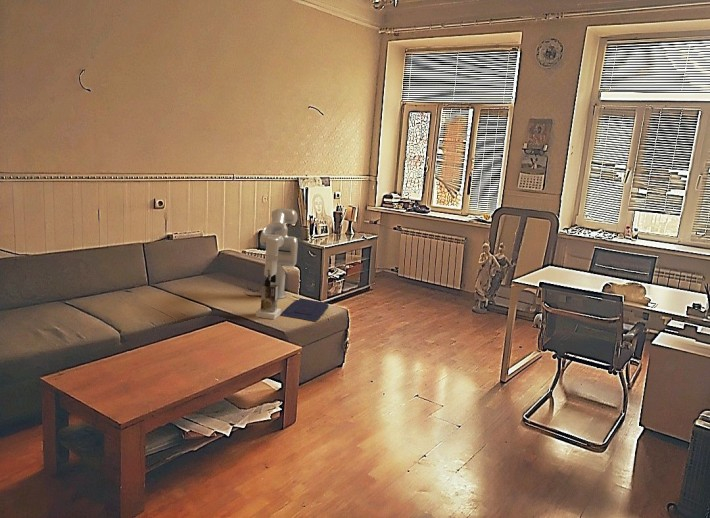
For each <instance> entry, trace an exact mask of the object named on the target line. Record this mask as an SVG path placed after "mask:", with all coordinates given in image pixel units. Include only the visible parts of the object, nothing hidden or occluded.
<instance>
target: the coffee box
mask: <svg viewBox="0 0 710 518" xmlns="http://www.w3.org/2000/svg"><path fill="white" fill-rule="evenodd" d="M260 294H261V296H260V298H261V299H260V308H261V311H267V312H275V311H276V310H277V309H278V285H275V284H271V283H270V287H267V286H265V283H263V284H262V285H261V293H260Z"/></svg>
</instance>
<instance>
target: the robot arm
mask: <svg viewBox="0 0 710 518" xmlns="http://www.w3.org/2000/svg"><path fill="white" fill-rule="evenodd" d="M297 221H298V213H297V211H296V210H295V209H291V208H276V209H275V210H273V211H271V222H270V223H268V224H267V225H266V226H264V227H263V228H262V230H261V232H260V233H261V234H260V237H259V238H260V239H259V242H260V245H261V246H264V247H265V263H264V270H263V271H264V273H263V276H264V284H265V286H267V287H270V284H275V285H278V299H280V300H281V299H284V298H286V297H287V293H285V287H286V285H285V284H286V283H285V282H286V270H285V268H284V267H295V266H296V264H297V261H298V247H299V246H298V238H297V237H296V236H289V235H288V229H289V228H288V227H287V225H289V224H291V225H294V224H296V223H297ZM286 224H287V225H286ZM279 250H282V251H279ZM283 266H284V267H283Z"/></svg>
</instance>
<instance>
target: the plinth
mask: <svg viewBox="0 0 710 518" xmlns="http://www.w3.org/2000/svg"><path fill="white" fill-rule="evenodd" d="M281 313H282V308H277V310H276V311H275V312H267V311H261V307H260V308H259V309H258V310H256V311H255V317H257V318H263V319H271V320H275V319H277V316H278V317H279V316H281Z"/></svg>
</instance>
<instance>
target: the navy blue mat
mask: <svg viewBox="0 0 710 518" xmlns="http://www.w3.org/2000/svg"><path fill="white" fill-rule="evenodd" d="M329 306H330V303H329V302H324V301H318V300H313V299H307V298H299V299H296V300H294V301H293V302H291V303H290V304H289V305H288V306H287V307H286V308H285V309H284V310H283V311H281V314H280V316H284V317H289V318H296V319H301V320H306V321H310V322H314V323H315V322H317V321H318V320H319V319H320V318H321V317H322V315H323V314H324V313H325V312H326V311H327V310H328V308H329Z"/></svg>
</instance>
